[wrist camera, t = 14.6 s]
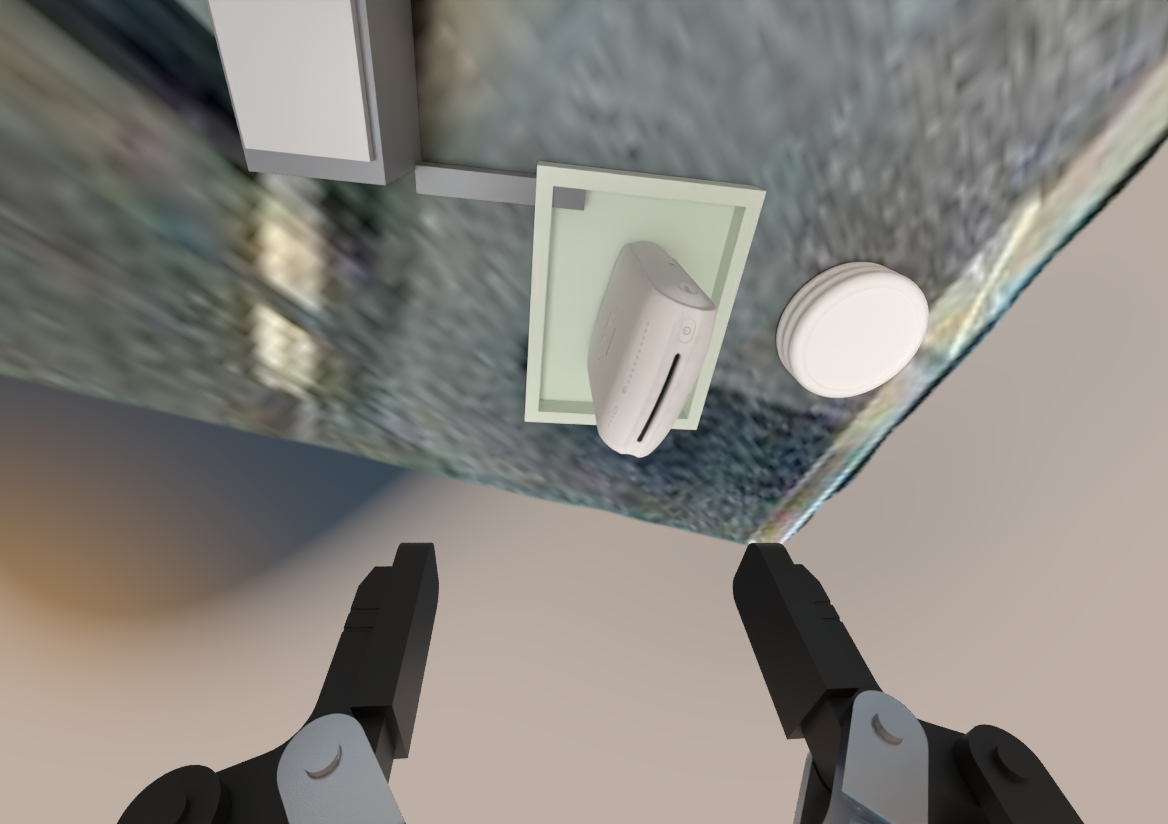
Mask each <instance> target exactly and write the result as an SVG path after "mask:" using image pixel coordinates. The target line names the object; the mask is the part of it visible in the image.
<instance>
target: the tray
mask: <svg viewBox="0 0 1168 824" xmlns="http://www.w3.org/2000/svg"><path fill="white" fill-rule="evenodd" d="M553 186H558V187H567V188H576V189H585V190H586V196H585V206H584V211H582V210H573V209H563V208H553V207H552V198H553ZM765 195H766V191H765V190H762V189H760V188H757V187H755V186H752V185H744V184H736V183H727V182H718V181H709V180H701V179H692V178H683V177H675V176H666V175H657V174H649V173H640V172H631V171H623V170H614V169H605V168H596V167H588V166H579V165H570V164H562V163H553V162H544V161H538V163H537V180H536V201H535V221H534V242H533V262H532V283H531V303H530V324H529V344H528V365H527V385H526V406H525V422H545V423H565V424H586V425H597V423H596V417H595V411H594V405H593V400H592V394H591V388H590V382H589V376H588V370H587V358H588V352H589V347H590V343H591V340H592V336H593V333H594V329H595V326H596V323H597V319H598V316H599V313H600V310H601V306H602V303H603V300H604V297H605V294H606V291H607V288H608V285H609V282H610V280H611V277H612V274H613V271H614V269H615V266H616V264H617V261H618V259H619V256H620V254H621V253H622V251H623V249H624V247H625V246H626V245H627V244H629V245H632V244H634V243H637V242H642V241H647V242H652V243H655V244H657V245H659V246H660V247H661V248H663V249H664V250H665V252H666V253H667V254H668V255H669V256H670V257H672V258H674V259H675V260H677V262H678V263H679V264H680V265H681V266H682V267H683V269H684V270H685V271H686V272H687V273H688V274H689V275H690V277H691V278H692V279H693V280H694V281H695V282H696V283H697V285H698V286H699V287H700V288H701V289H702V290H703V291H704V292H705V294H706V295H707V296H708V297H709V298H710V299H711V300H712V301H713V302H714V304H715V305H716V309H717V311H716V319H715V325H714V330H713V334H712V337H711V341H710V345H709V348H708V351H707V354H706V357H705V360H704V362H703V365H702V367H701V370H700V373H699V375H698V377H697V380H696V382H695V384H694V386H693V389H692V391H691V393H690V395H689V398H688V399H687V401H686V403H685V405H684V407H683V410H682V411H681V413H680V414H679V416H678V418H677V419H676V421H675V423H674V424H673V426H672V427H671V429H687V430H697V426H698V423H699V420H700V416H701V413H702V409H703V406H704V403H705V399H706V396H707V392H708V389H709V386H710V382H711V379H712V375H713V372H714V369H715V365H716V362H717V358H718V355H719V351H720V348H721V345H722V341H723V338H724V334H725V331H726V328H727V324H728V321H729V317H730V314H731V311H732V307H733V304H734V300H735V297H736V294H737V290H738V287H739V283H740V280H741V277H742V273H743V270H744V266H745V263H746V260H747V256H748V253H749V249H750V246H751V243H752V239H753V236H754V232H755V229H756V225H757V222H758V219H759V215H760V212H761V208H762V205H763V202H764V198H765Z"/></svg>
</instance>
